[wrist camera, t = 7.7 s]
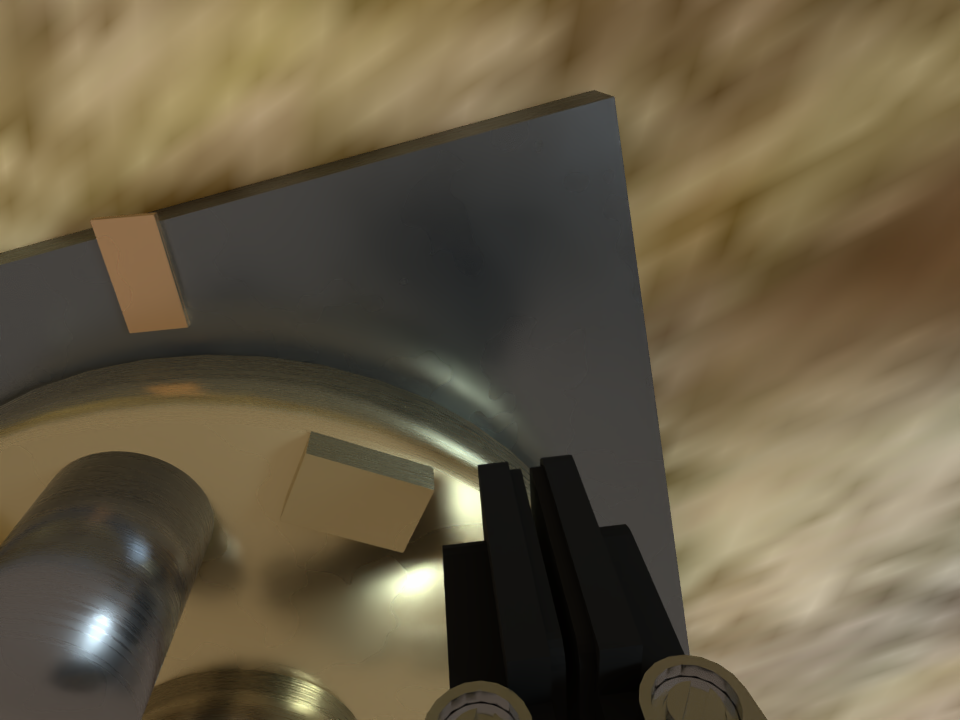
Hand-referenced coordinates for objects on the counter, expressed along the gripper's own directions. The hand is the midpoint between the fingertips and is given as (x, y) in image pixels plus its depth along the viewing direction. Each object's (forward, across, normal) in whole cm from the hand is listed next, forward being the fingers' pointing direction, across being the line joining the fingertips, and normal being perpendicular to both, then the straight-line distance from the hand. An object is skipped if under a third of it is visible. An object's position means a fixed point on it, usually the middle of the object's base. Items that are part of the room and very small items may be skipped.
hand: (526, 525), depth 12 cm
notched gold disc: (+4, +7, +7) cm, 11 cm away
